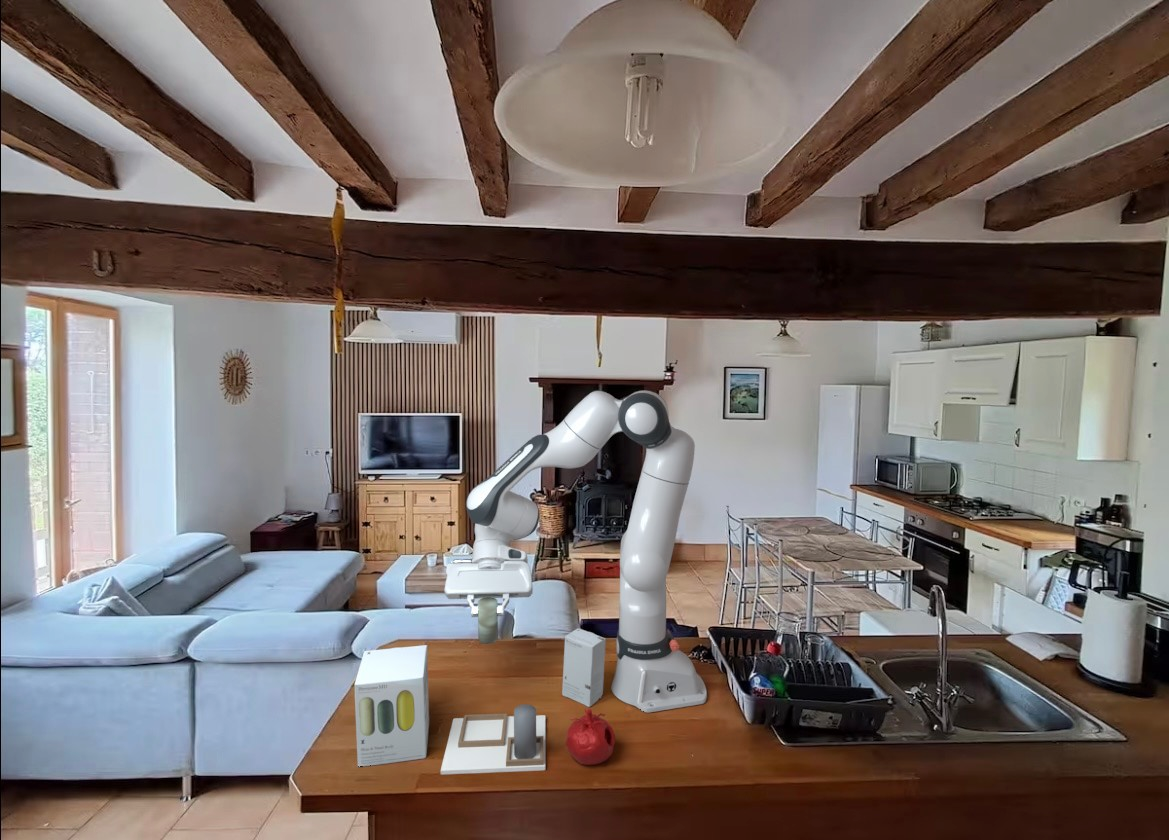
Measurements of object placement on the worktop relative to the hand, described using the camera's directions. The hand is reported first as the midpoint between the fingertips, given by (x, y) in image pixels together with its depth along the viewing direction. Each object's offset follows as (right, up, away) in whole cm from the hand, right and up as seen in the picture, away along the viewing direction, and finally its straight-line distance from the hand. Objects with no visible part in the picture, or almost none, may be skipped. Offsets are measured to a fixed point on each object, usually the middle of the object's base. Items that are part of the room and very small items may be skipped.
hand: (487, 615), depth 132 cm
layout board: (+4, -23, -11) cm, 26 cm away
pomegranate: (+23, -23, -14) cm, 36 cm away
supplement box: (-17, -23, -11) cm, 31 cm away
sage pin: (0, -6, +1) cm, 6 cm away
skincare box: (+22, -21, +6) cm, 31 cm away
